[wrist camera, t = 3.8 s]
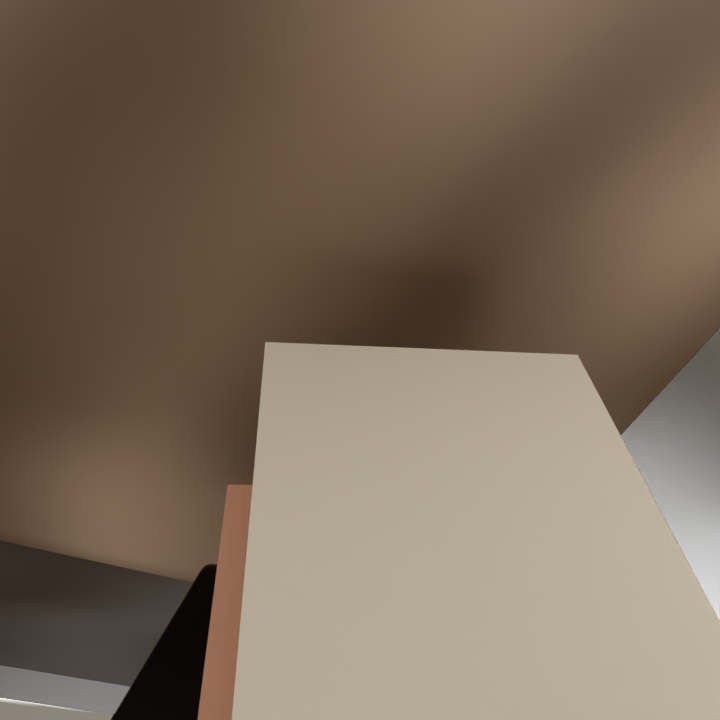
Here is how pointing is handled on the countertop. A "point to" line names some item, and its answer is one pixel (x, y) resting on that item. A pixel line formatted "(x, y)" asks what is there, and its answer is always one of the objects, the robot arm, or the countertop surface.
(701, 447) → the countertop surface
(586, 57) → the brown tray
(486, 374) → the askew carton
